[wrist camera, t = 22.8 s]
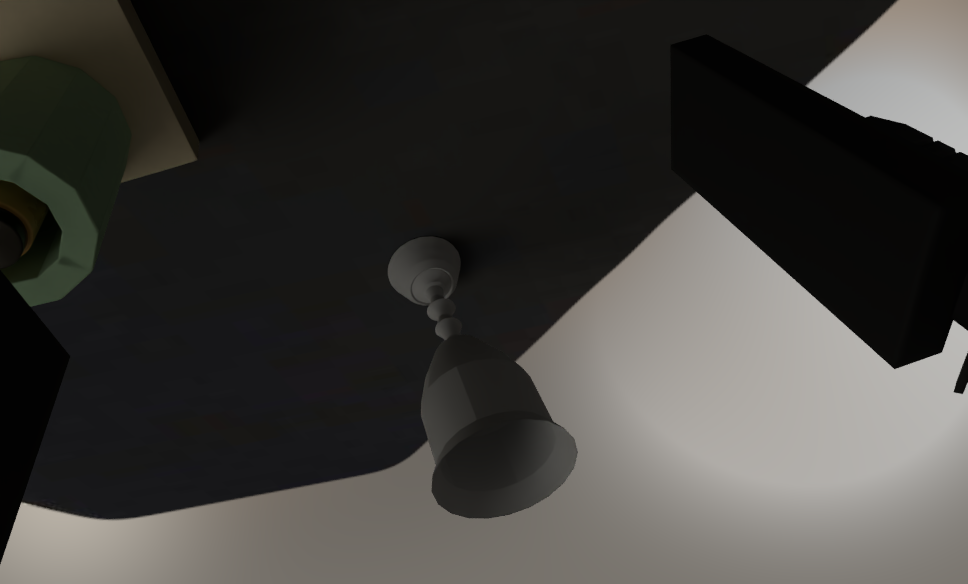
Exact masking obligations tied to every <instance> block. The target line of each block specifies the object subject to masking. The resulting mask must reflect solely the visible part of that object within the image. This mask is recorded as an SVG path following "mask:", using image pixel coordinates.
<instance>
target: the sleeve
mask: <svg viewBox="0 0 968 584" xmlns="http://www.w3.org/2000/svg"><path fill="white" fill-rule="evenodd" d="M131 136H132V134H131V131H130V128H129V126H128V124H127V122H126V119H125V117H124V115H123V113H122V110H121V108H120V106H119V104H118V101H117V100H116V98H115V96H113V95H112V94H111V93H110V92H108V91H107V90H106V89H105V88H104V87H102V86H101V85H100V84H99V83H98V82H96V81H95V80H94V79H93V78H91V77H90V76H89V75H88V74H87V73H85V72H84V71H83V70H82V69H80V68H77V67H73V66H70V65H66V64H63V63H59V62H56V61H52V60H49V59H45V58H42V57H38V56H27V57H22V58H16V59H10V60H5V61H0V180H4V181H8V182H13V183H15V184H17V185H18V186H20V187H21V188H23V189H24V190H26V191H27V192H29V193H30V194H32V195H33V196H35V197H36V198H38V199H39V200H41V201H42V202H44V203H45V204H47V205H48V207H49V210H48V212H47V214H46V216H45V219H44V221H43V223H42V225H41V227H40V229H39V231H38V233H37V235H36V237H35V240H34V242H33V244H32V246H31V248H30V249H29V250H28V251H27V252H26V253H25V254H24V255H22V256H21V257H20V259H19V260H18V261H17V262H16V263H15V264H13V265H11V266H9V267H7V268H4V269H0V270H1V271H2V272H3V274H4V275H5V276H6V277H7V279H8V280H9V281H10V282H11V284H12V285H13V286H14V287H15V289H16V290H17V291H18V292H19V293H20V295H21V296H22V297H23V298H24V300H25V301H26V302H27V303H28V305H29V306H30V307H31V306H35V305H39V304H43V303H48V302H52V301H56V300H60V299H62V298H63V297H64V296H65V295H67V294H68V293H69V292H70V291H71V290H72V289H73V288H74V287H75V286H77V285H78V284H79V283H80V282H81V281H82V280H83V279H84V278H86V277H87V276H88V275H89V274H90V273H91V272H92V270H93V269H94V266H95V262H96V259H97V256H98V253H99V250H100V247H101V243H102V240H103V237H104V234H105V231H106V228H107V225H108V221H109V218H110V215H111V212H112V209H113V206H114V202H115V199H116V196H117V193H118V190H119V187H120V183H121V180H122V177H123V174H124V171H125V168H126V164H127V158H128V153H129V147H130V141H131Z"/></svg>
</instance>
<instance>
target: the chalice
mask: <svg viewBox="0 0 968 584" xmlns="http://www.w3.org/2000/svg"><path fill="white" fill-rule="evenodd" d="M460 265H461V260H460V257H459V253H458V251H457V250H456V249H455V247H454V246H453V245H452V244H451V243H449V242H448V241H446V240H444V239H442V238H437V237H433V236H430V237H419V238H416V239H413V240H410V241H408V242H407V243H405V244H404V245H402V246H401V247H399V249H398V250H397V251H396V252H395V253H394V255H393V256H392V258H391V260H390V263H389V265H388V277H389V280H390V283H391V285H392V286H393V287H394V288H395V290H396V291H397V292H399V293H400V294H402V295H404V297H406V298H408V299H409V300H410V301H412V302H414V303H416V304H420V305H429V307H428V309H427V314H428V316H429V317H430V318H431V319H433V320H435V321H438V324H437V326H436V329H435V331H436V334H437V335H438V336H440V337H442V338H443V339H444V340H445V341H443V342H442V343H441V344H440V345H439V346H438V347H437V350H436V352H435V354H434V357H433V359H432V362H431V365H430V367H429V370H428V373H427V375H426V378H425V383H424V389H423V396H422V402H421V417H422V420H423V424H424V427H425V430H426V434H427V437H428V440H429V444H430V447H431V450H432V454H433V457H434V460H435V464H436V467H435V470H434V473H433V478H432V493H433V495H434V497H435V499H436V501H437V503H438V504H439V505H440V506H441V507H443V508H444V509H446V510H447V511H449V512H450V513H452V514H455V515H459V516H463V517H467V518H492V517H499V516H505V515H510V514H512V513H515V512H518V511H521V510H523V509H526V508H529V507H531V506H533V505H534V504H536V503H538V502H540V501H541V500H543V499H545V498H547V497H548V496H550V495H551V494H552V493H553V492H554V491H555V490H556V489H557V488H559V487H560V486H561V485H562V484H563V483H564V482H565V480H566V479H567V477H568V476H569V474H570V473H571V471H572V470H573V468H574V465H575V462H576V457H577V453H578V452H577V448H576V444H575V440H574V438H573V437H572V436H571V435H570V434H569V433H568V432H567V431H566V430H565V429H564V428H563V427H561V426H560V425H558V424H556V423H554V422H553V421H552V419H551V417H550V415H549V413H548V411H547V409H546V407H545V405H544V403H543V401H542V399H541V397H540V395H539V393H538V391H537V389H536V387H535V385H534V383H533V381H532V379H531V377H530V376H529V375H528V374H527V373H526V371H525V370H524V369H523V368H522V367H520V366H519V365H518V364H517V363H516V362H514V361H513V360H512V359H511V358H509V357H508V356H507V355H506V354H504V353H503V352H502V351H500V350H498V349H496V348H494V347H492V346H490V345H488V344H487V343H485V342H483V341H481V340H479V339H477V338H475V337H473V336H471V335H460V331H461V329H462V324H461V322H460V321H459V320H458V319H456V318H453V317H452V315H453V314H454V312H455V304H454V303H453V302H452V301H451V300H449V299H446V298H448V297H449V296H450V295H451V294H452V293H453V291H454V290H455V287H456V285H457V280H458V276H459V272H460Z"/></svg>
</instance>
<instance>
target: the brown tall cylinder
mask: <svg viewBox="0 0 968 584" xmlns="http://www.w3.org/2000/svg"><path fill="white" fill-rule="evenodd" d="M48 210H49V207H48V205H47V204H45V203H44V202H42V201H41V200H39V199H38V198H36V197H35V196H33V195H32V194H30V193H29V192H27V191H26V190H24V189H23V188H21V187H20V186H18V185H17V184H15V183H13V182H8V181H4V180H0V269H4V268H7V267H9V266H11V265H13V264H15V263H16V262H17V261H18V260H19V259H20V257H21V256H22V255H24V254H25V253H26V252H27V251H28V250H29V249H30V248H31V246H32V244H33V242H34V240H35V237H36V235H37V233H38V231H39V229H40V227H41V225H42V223H43V221H44V219H45V216H46V214H47V212H48Z"/></svg>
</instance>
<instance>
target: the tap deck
mask: <svg viewBox="0 0 968 584" xmlns="http://www.w3.org/2000/svg"><path fill="white" fill-rule="evenodd" d="M27 56H38V57H42V58H45V59H49V60H52V61H56V62H59V63H63V64H66V65H70V66H73V67H77V68H80V69H82V70H83V71H84V72H85V73H87V74H88V75H89V76H90V77H91V78H93V79H94V80H95V81H96V82H98V83H99V84H100V85H101V86H102V87H104V88H105V89H106V90H107V91H108V92H110V93H111V94H112V95H113V96H115V98H116V100H117V101H118V104H119V106H120V108H121V110H122V113H123V115H124V117H125V119H126V122H127V124H128V126H129V128H130V131H131V134H132V136H131V141H130V147H129V153H128V158H127V164H126V168H125V171H124V174H123V177H122V180H121V183H122V182H126V181H129V180H132V179H136V178H139V177H143V176H146V175H149V174H153V173H156V172H159V171H163V170H166V169H170V168H173V167H176V166H180V165H183V164H186V163H190V162H193V161H197V159H198V150H199V140H198V138H197V136H196V133H195V131H194V129H193V127H192V125H191V123H190V121H189V119H188V117H187V115H186V113H185V111H184V109H183V107H182V105H181V103H180V101H179V99H178V97H177V95H176V93H175V91H174V89H173V87H172V85H171V83H170V80H169V78H168V76H167V74H166V72H165V70H164V68H163V66H162V64H161V62H160V60H159V58H158V56H157V54H156V52H155V50H154V48H153V46H152V44H151V42H150V40H149V38H148V36H147V34H146V32H145V30H144V27H143V25H142V23H141V21H140V19H139V17H138V15H137V13H136V11H135V9H134V7H133V5H132V3H131V1H130V0H0V61H5V60H10V59H16V58H22V57H27Z"/></svg>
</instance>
